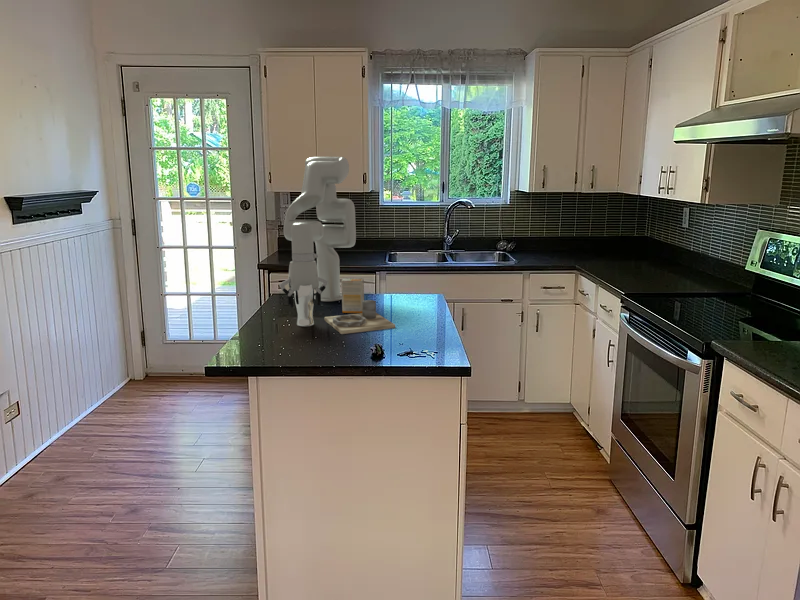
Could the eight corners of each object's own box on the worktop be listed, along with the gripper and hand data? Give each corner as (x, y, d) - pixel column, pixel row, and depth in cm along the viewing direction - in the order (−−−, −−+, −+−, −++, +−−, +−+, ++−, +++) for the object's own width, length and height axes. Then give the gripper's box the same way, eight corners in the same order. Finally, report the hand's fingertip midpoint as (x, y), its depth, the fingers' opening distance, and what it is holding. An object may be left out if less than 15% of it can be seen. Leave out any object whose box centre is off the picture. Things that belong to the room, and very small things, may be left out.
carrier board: (324, 320, 218) (324, 301, 217) (374, 314, 226) (374, 296, 225) (341, 334, 201) (340, 313, 199) (395, 327, 208) (395, 308, 207)
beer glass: (291, 325, 211) (290, 284, 208) (303, 321, 217) (302, 281, 214) (307, 327, 208) (306, 286, 205) (319, 323, 214) (317, 282, 211)
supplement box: (364, 310, 233) (364, 278, 230) (362, 313, 228) (362, 280, 225) (344, 310, 234) (343, 277, 231) (341, 313, 229) (341, 279, 226)
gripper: (323, 255, 214) (324, 301, 217) (276, 257, 207) (278, 305, 211) (329, 258, 207) (330, 305, 211) (280, 260, 200) (282, 309, 204)
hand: (304, 305), depth 211 cm, fingers open, 9 cm apart
